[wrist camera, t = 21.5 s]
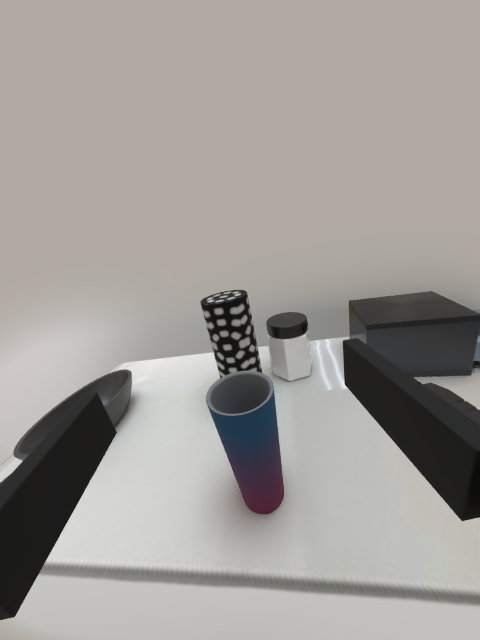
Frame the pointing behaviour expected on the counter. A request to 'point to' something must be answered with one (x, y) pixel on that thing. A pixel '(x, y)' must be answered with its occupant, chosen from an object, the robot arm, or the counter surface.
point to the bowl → (109, 388)
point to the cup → (250, 436)
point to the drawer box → (418, 332)
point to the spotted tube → (231, 332)
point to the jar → (289, 345)
